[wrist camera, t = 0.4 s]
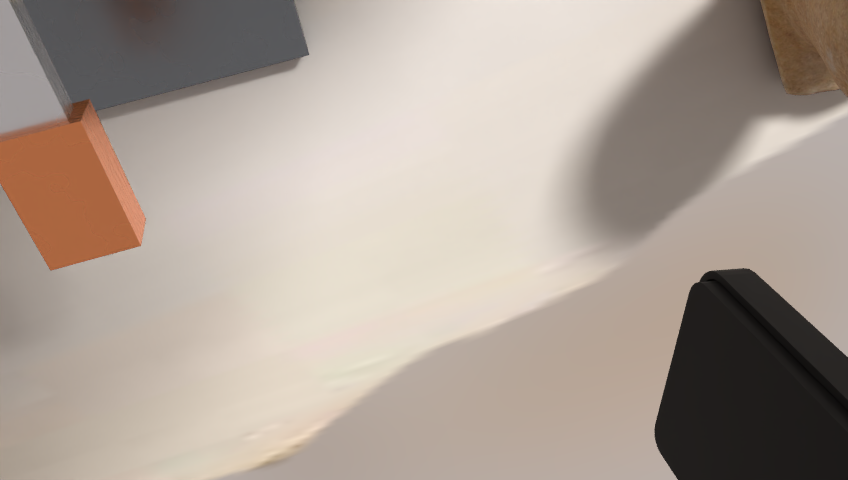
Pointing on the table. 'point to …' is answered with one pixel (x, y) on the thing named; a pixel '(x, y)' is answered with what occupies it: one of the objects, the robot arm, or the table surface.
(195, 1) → the valve body
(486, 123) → the table surface
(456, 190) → the table surface
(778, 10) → the stone cup
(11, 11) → the valve lever
